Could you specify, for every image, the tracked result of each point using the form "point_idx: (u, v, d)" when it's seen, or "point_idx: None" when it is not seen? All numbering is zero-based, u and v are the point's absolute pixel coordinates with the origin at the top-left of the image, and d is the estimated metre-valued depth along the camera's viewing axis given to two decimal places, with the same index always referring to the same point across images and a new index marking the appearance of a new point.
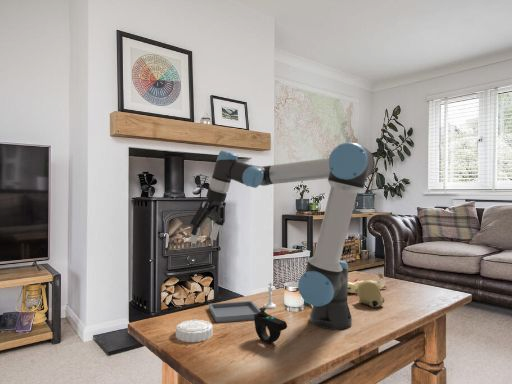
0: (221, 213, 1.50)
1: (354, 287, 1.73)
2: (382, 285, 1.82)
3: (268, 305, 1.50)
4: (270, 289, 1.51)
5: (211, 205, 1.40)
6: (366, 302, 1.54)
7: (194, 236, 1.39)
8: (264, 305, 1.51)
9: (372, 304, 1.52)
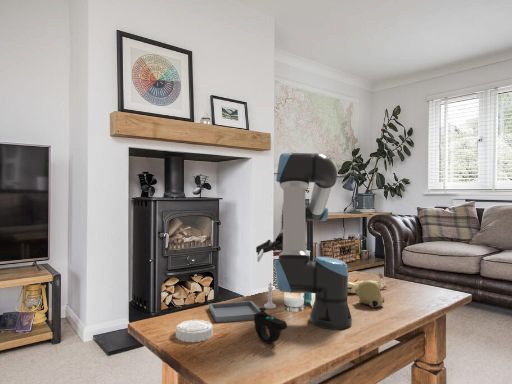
0: None
1: (355, 287, 1.73)
2: (382, 285, 1.83)
3: (268, 305, 1.50)
4: (270, 289, 1.51)
5: (275, 241, 1.70)
6: (366, 302, 1.54)
7: None
8: (264, 305, 1.51)
9: (372, 304, 1.52)
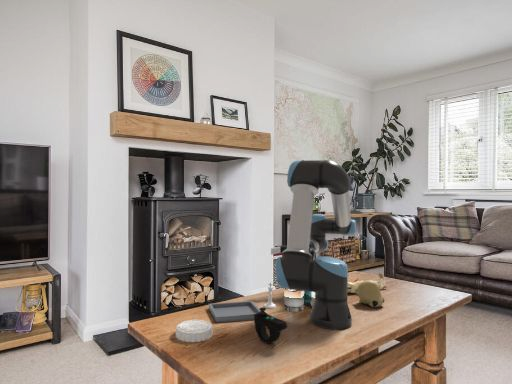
0: None
1: (354, 287, 1.73)
2: (382, 285, 1.83)
3: (268, 305, 1.50)
4: (270, 289, 1.51)
5: None
6: (366, 302, 1.54)
7: None
8: (264, 305, 1.51)
9: (372, 304, 1.52)
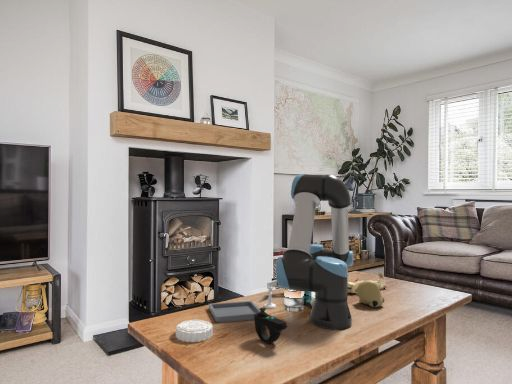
0: None
1: (355, 287, 1.73)
2: (382, 285, 1.83)
3: (268, 305, 1.50)
4: (270, 289, 1.51)
5: None
6: (366, 302, 1.54)
7: None
8: (264, 305, 1.51)
9: (372, 304, 1.52)
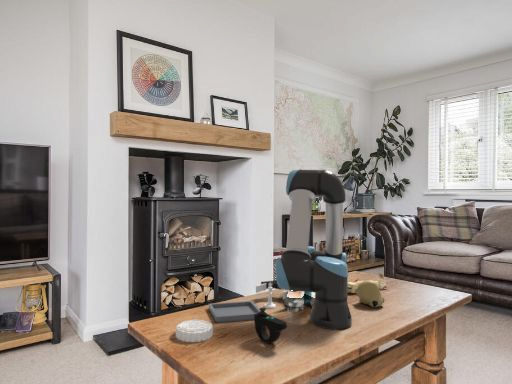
0: None
1: (355, 287, 1.73)
2: (383, 285, 1.83)
3: (268, 305, 1.50)
4: (270, 289, 1.51)
5: None
6: (366, 302, 1.54)
7: None
8: (264, 305, 1.51)
9: (372, 304, 1.52)
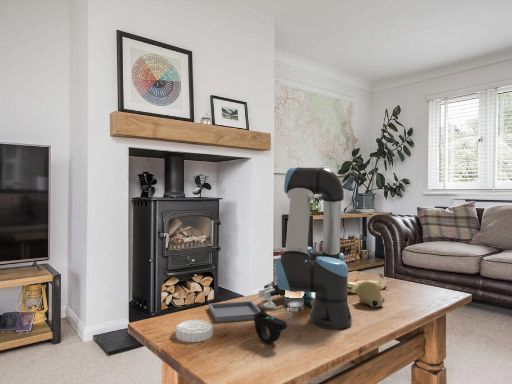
0: None
1: (355, 287, 1.73)
2: (383, 285, 1.83)
3: (268, 305, 1.50)
4: (270, 289, 1.51)
5: None
6: (366, 302, 1.54)
7: None
8: (264, 305, 1.51)
9: (372, 304, 1.52)
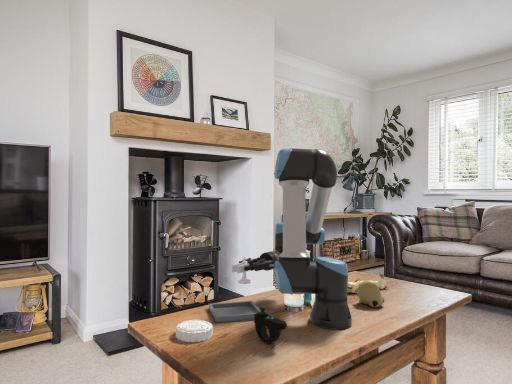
0: None
1: (355, 287, 1.74)
2: (383, 285, 1.83)
3: (242, 280, 1.41)
4: (244, 263, 1.42)
5: None
6: (366, 302, 1.54)
7: None
8: (238, 280, 1.42)
9: (372, 304, 1.52)
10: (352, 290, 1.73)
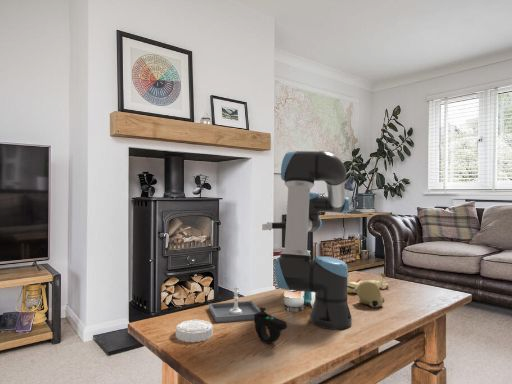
0: None
1: None
2: (385, 285, 1.83)
3: (233, 311, 1.40)
4: (236, 293, 1.41)
5: None
6: (366, 302, 1.54)
7: None
8: None
9: (372, 304, 1.52)
10: (354, 290, 1.73)
